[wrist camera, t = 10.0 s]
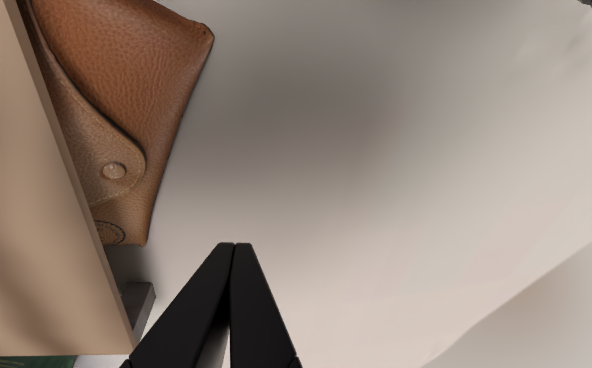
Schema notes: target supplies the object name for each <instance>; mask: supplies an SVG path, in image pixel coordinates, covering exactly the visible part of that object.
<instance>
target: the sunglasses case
mask: <svg viewBox="0 0 592 368" xmlns="http://www.w3.org/2000/svg"><path fill="white" fill-rule="evenodd" d="M16 3H17V6H18V9H19V12H20V14H21V17H22V20H23V23H24V26H25V29H26V31H27V34H28V37H29V40H30V43H31V46H32V48H33V51H34V54H35V57H36V60H37V63H38V65H39V68H40V71H41V74H42V77H43V79H44V82H45V85H46V88H47V91H48V94H49V96H50V99H51V102H52V105H53V108H54V111H55V113H56V116H57V119H58V122H59V125H60V128H61V130H62V133H63V136H64V139H65V142H66V144H67V147H68V150H69V153H70V156H71V159H72V161H73V164H74V167H75V170H76V173H77V176H78V178H79V181H80V184H81V187H82V190H83V193H84V195H85V198H86V201H87V204H88V207H89V209H90V212H91V215H92V218H93V221H94V224H95V226H96V229H97V232H98V235H99V238H100V241H101V243H102V246H108V245H109V246H110V245H127V244H138V245H139V246H140V247H143V246H145V245H146V243H147V240H148V232H149V224H150V219H151V213H152V208H153V206H154V201H155V198H156V194H157V191H158V188H159V184H160V182H161V178H162V175H163V172H164V168H165V166H166V162H167V159H168V157H169V154H170V150H171V147H172V143H173V140H174V138H175V135H176V132H177V129H178V127H179V123H180V120H181V118H182V116H183V112H184V110H185V107H186V104H187V101H188V99H189V97H190V94H191V92H192V89H193V88H194V85H195V83H196V80H197V79H198V76H199V73H200V71H201V69H202V67H203V64H204V62H205V60H206V58H207V56H208V54H209V52H210V50H211V48H212V45H213V41H214V35H213V34H212V32H211V30H210V29H209V28H208V27H207V26H206V25H205V24H203V23H198V22H196V21H192V20H188V19H186V18H185V17H182V16H180V15H179V14H177V13H175V12H173V11H172V10H170V9H168V8H166V7H164V6H162V5H161V4H159V3H157V2H155V1H153V0H16Z"/></svg>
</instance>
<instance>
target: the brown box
mask: <svg viewBox="0 0 592 368" xmlns="http://www.w3.org/2000/svg"><path fill="white" fill-rule="evenodd" d="M155 298H156V296H155V292H154V288H153V284H152V283H127V285H126V287H125V289H124V291H123V293H122V296H121V297H120V294H119V291H118V289H117V286H116V283H115V280H114V277H113V274H112V272H111V269H110V266H109V263H108V260H107V258H106V255H105V252H104V249H103V246H102V243H101V241H100V238H99V235H98V232H97V229H96V226H95V224H94V221H93V218H92V215H91V212H90V209H89V207H88V204H87V201H86V198H85V195H84V193H83V190H82V187H81V184H80V181H79V178H78V176H77V173H76V170H75V167H74V164H73V161H72V159H71V156H70V153H69V150H68V147H67V144H66V142H65V139H64V136H63V133H62V130H61V128H60V125H59V122H58V119H57V116H56V113H55V111H54V108H53V105H52V102H51V99H50V96H49V94H48V91H47V88H46V85H45V82H44V79H43V77H42V74H41V71H40V68H39V65H38V63H37V60H36V57H35V54H34V51H33V48H32V46H31V43H30V40H29V37H28V34H27V31H26V29H25V26H24V23H23V20H22V17H21V14H20V12H19V9H18V6H17V3H16V0H0V356H52V355H118V354H131V353H132V351H133V350H134V349H135V348H136V346H137V345H138V344H139V342H140V339H141V337H142V334H143V331H144V328H145V326H146V323H147V320H148V317H149V315H150V312H151V309H152V306H153V304H154V301H155Z"/></svg>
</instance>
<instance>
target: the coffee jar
mask: <svg viewBox="0 0 592 368" xmlns="http://www.w3.org/2000/svg"><path fill="white" fill-rule="evenodd" d="M74 362H75V355H52V356H0V368H73V365H74Z"/></svg>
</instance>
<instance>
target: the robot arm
mask: <svg viewBox="0 0 592 368" xmlns="http://www.w3.org/2000/svg"><path fill="white" fill-rule="evenodd" d="M578 1H580V2H581V3H583V4H587V5H590V6H591V7H592V0H578ZM229 329H230V368H303V367H302V365H301V362H300V360H299V357H297V356H296V355H297V353H296V351H295V348H294V346H293V343H292V341H291V338H290V336H289V334H288V331H287V329H286V326H285V324H284V322H283V319H282V317H281V314H280V312H279V309H278V307H277V305H276V302H275V300H274V297H273V295H272V293H271V290H270V288H269V285H268V283H267V281H266V278H265V276H264V273H263V271H262V268H261V266H260V264H259V261H258V259H257V256H256V254H255V252H254V249H253V247H252V245H251V244H250V243H236V244H234V243H232V242H220V243H218V244H217V246H216V247H215V248H214V249H213V251H212V252H211V253H210V254H209V256H208V257H207V258H206V259H205V261H204V262H203V263H202V264H201V266H200V267H199V268H198V269H197V271H196V272H195V273H194V274H193V276H192V277H191V278H190V280H189V281H188V282H187V283H186V285H185V286H184V287H183V288H182V290H181V291H180V292H179V293H178V295H177V296H176V297H175V298H174V300H173V301H172V302H171V303H170V305H169V306H168V307H167V308H166V310H165V311H164V312H163V314H162V315H161V316H160V317H159V319H158V320H157V321H156V322H155V324H154V325H153V326H152V327H151V329H150V330H149V331H148V332H147V334H146V335H145V336H144V337H143V339H142V340H141V341H140V342H139V344H138V345H137V346H136V348H135V349H134V350H133V351H132V353H131V354H130V355H129V359H126V360H125V361H124V362H123V364H122V365H121V366H120V367H119V368H222V363H223V359H224V354H225V349H226V345H227V340H228V335H229Z"/></svg>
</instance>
